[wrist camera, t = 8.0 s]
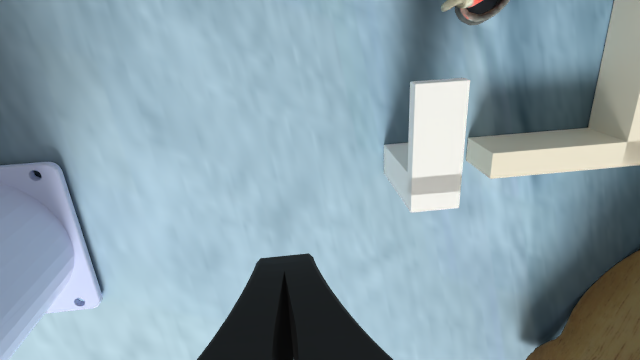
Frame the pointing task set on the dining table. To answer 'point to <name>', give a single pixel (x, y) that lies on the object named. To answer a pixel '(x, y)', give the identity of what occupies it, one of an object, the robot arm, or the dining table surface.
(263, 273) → the robot arm
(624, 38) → the end holder
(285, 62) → the dining table surface
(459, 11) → the composite cable
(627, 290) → the wooden carving
